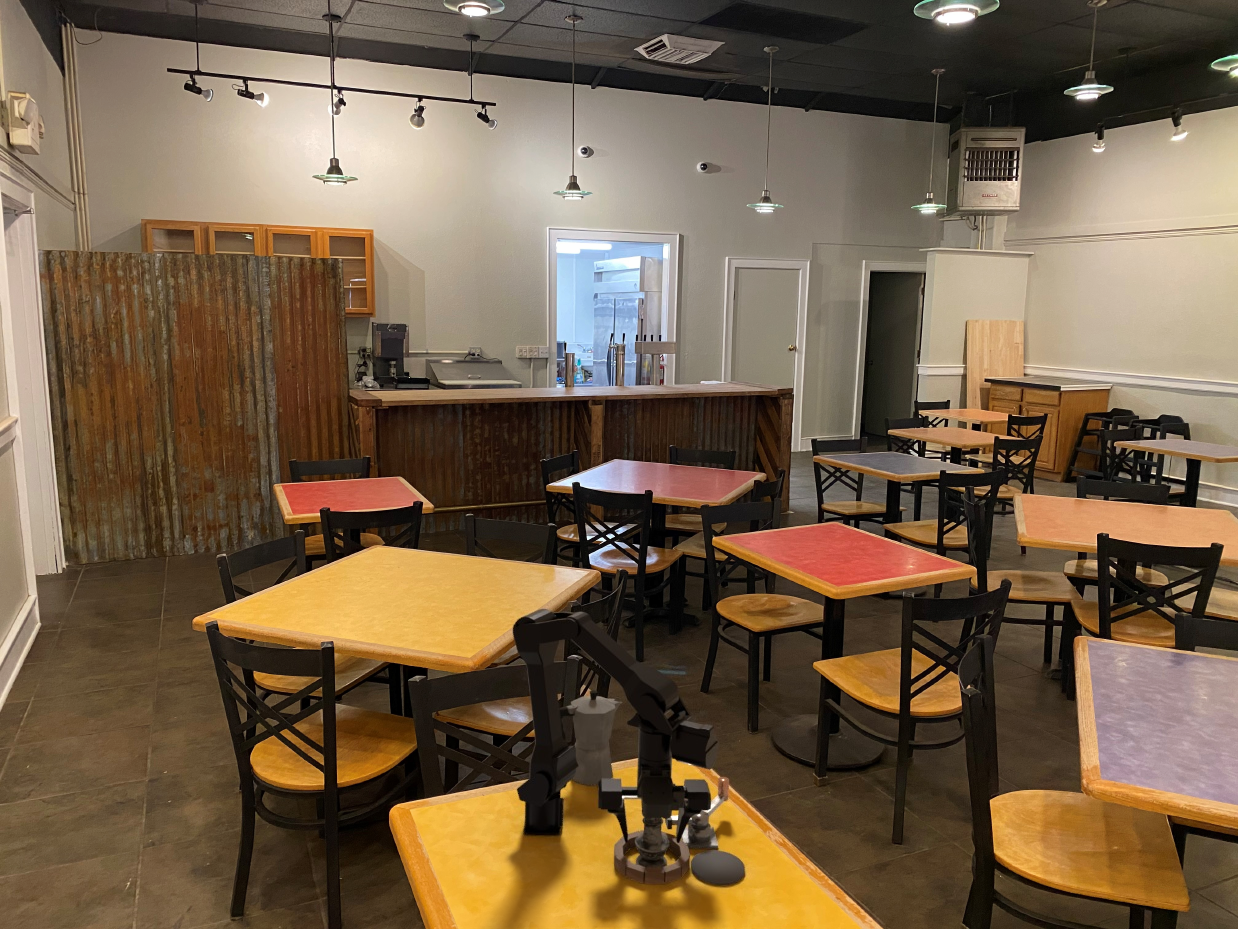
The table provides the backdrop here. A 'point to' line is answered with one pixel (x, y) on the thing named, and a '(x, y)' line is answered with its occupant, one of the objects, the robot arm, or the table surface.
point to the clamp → (703, 818)
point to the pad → (717, 867)
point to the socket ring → (651, 873)
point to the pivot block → (700, 838)
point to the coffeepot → (591, 736)
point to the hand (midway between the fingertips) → (652, 841)
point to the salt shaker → (652, 844)
